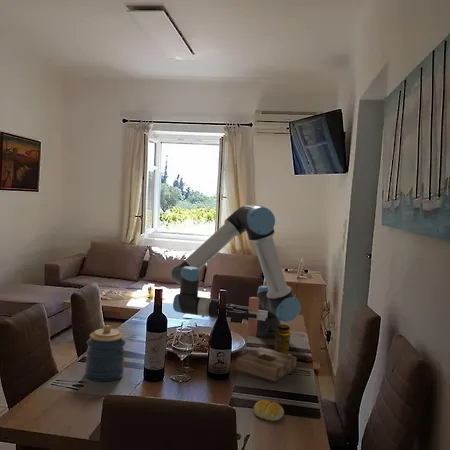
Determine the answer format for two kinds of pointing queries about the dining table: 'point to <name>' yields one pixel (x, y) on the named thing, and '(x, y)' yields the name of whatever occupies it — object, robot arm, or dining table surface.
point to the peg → (252, 322)
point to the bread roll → (268, 410)
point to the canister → (105, 355)
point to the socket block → (266, 364)
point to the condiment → (282, 339)
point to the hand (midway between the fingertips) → (266, 315)
